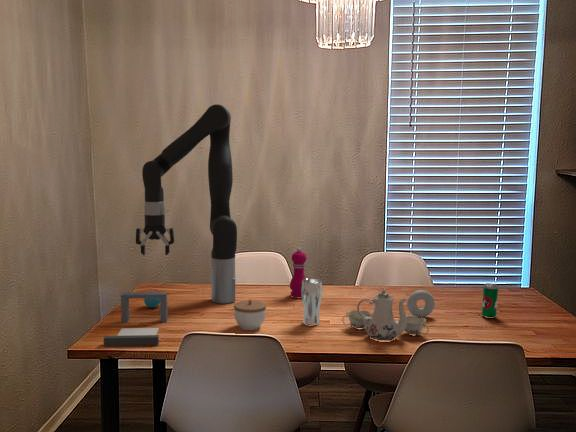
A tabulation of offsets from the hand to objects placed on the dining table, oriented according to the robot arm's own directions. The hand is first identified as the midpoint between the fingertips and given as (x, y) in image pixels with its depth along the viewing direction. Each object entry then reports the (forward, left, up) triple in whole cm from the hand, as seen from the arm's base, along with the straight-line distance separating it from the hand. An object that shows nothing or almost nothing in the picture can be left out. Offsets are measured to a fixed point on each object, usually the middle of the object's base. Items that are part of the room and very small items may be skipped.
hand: (155, 254), depth 210 cm
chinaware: (-79, +43, -18) cm, 92 cm away
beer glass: (-57, +30, -18) cm, 67 cm away
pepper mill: (-56, -4, -18) cm, 59 cm away
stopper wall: (0, +48, -18) cm, 51 cm away
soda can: (-122, +26, -18) cm, 126 cm away
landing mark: (0, +39, -18) cm, 43 cm away
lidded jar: (-36, +33, -18) cm, 52 cm away
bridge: (0, +25, -18) cm, 31 cm away
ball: (0, +9, -15) cm, 18 cm away
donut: (-97, +25, -18) cm, 102 cm away
